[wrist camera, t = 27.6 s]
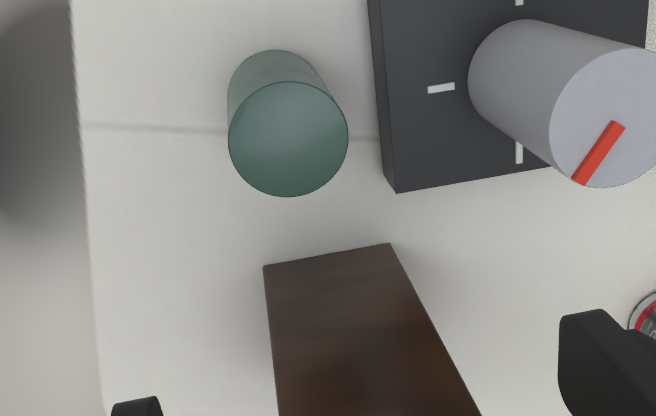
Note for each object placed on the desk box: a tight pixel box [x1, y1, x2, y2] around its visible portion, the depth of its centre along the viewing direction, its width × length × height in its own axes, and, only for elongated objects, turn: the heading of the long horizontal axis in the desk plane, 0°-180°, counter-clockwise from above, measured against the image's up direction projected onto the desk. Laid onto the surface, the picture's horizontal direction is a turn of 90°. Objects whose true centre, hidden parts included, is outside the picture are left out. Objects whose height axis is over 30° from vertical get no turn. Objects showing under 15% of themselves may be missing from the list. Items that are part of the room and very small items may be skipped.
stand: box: [263, 243, 482, 416], centre depth 32 cm, size 8×8×18 cm
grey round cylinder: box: [468, 19, 656, 188], centre depth 28 cm, size 6×6×9 cm
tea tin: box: [228, 50, 348, 197], centre depth 30 cm, size 5×5×8 cm
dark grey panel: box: [367, 0, 649, 194], centre depth 34 cm, size 14×11×3 cm
